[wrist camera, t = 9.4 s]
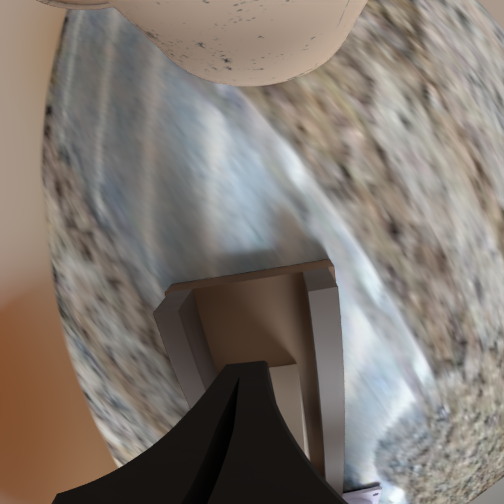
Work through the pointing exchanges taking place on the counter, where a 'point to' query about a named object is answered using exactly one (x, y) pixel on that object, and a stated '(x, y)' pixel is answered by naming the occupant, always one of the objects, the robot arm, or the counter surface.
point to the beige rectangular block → (291, 402)
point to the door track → (266, 342)
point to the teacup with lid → (239, 34)
